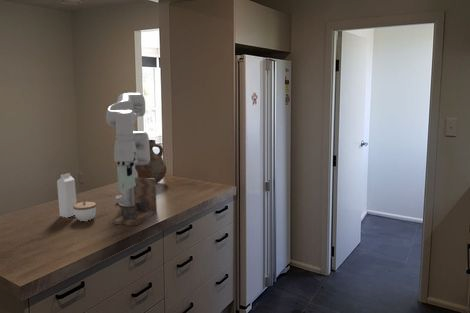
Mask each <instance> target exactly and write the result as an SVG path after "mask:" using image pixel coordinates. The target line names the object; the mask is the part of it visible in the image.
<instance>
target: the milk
mask: <svg viewBox="0 0 470 313" xmlns="http://www.w3.org/2000/svg"><path fill="white" fill-rule="evenodd" d="M75 181H76V179H75V178H74V177H73V176H72V175H71V172H68V173H65V174H64V173H63V174H60V178H59V179H57V180H56V187H57V198H58V209H59V217H60V216H63V217H62V218H64V217H71V216H73V215H74V210H73V205H74V204H77V194H76V193H77V191H76V182H75ZM73 217H74V216H73ZM71 218H72V217H71Z"/></svg>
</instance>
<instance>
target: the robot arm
mask: <svg viewBox="0 0 470 313" xmlns="http://www.w3.org/2000/svg"><path fill="white" fill-rule="evenodd" d="M116 100H117V101H116V103H113V104H111V105H109V106H108V107H107V109H106V114H105V119H106V123H107V125H108V126H113V127H115V130H116V132H115V133H116V134H114V138H115V139H116V140H115V141H114V148H113V158H114V160H113V161H114V162H115V163H116V164H117V165H118V167H119V166H121V165H124V164H127V163H128V168H127V176H130V175H132V167H133V165H134V164H135V165H145V164H148V163H149V162H150V147H149V140H150V137H149V135H148V133H147V132H146V131H141V130H139V131H136V127H135V126H136V125H135V123H137V118H138V117H143V116H145V114H146V111H147V110H146V99H145V97H144V95H143V94H142V93H139V92H127V93H126V92H125V93H124V92H123V93H121V94H120V95H119V96H118V97H117V99H116ZM135 176H136V177H138V173H137V171H136V169H135ZM120 194H121V195H116V196H115V200H117V201H119V202H118V206H121V207H124V208H126V207H127V208H131V207H135V205H134V187H132V188H130V189H128V190H126V191H124V192H120Z"/></svg>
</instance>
